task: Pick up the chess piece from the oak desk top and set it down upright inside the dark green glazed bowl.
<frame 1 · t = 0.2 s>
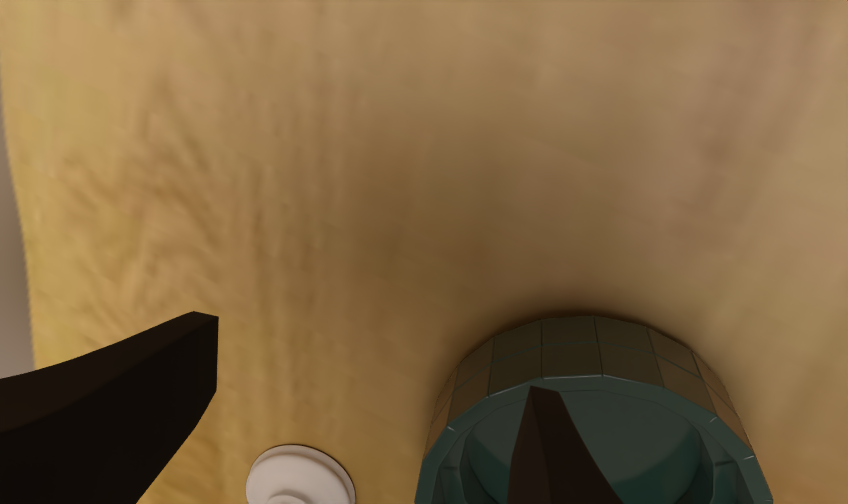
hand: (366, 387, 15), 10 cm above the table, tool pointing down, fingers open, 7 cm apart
bowl: (579, 438, 26), on the table
chess piece: (303, 486, 30), on the table
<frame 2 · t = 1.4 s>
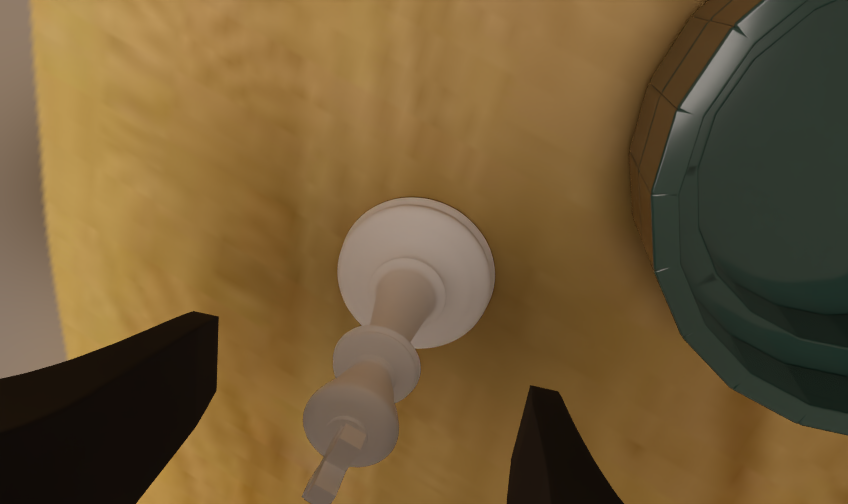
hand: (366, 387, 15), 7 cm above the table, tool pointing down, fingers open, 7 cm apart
chess piece: (417, 269, 21), on the table
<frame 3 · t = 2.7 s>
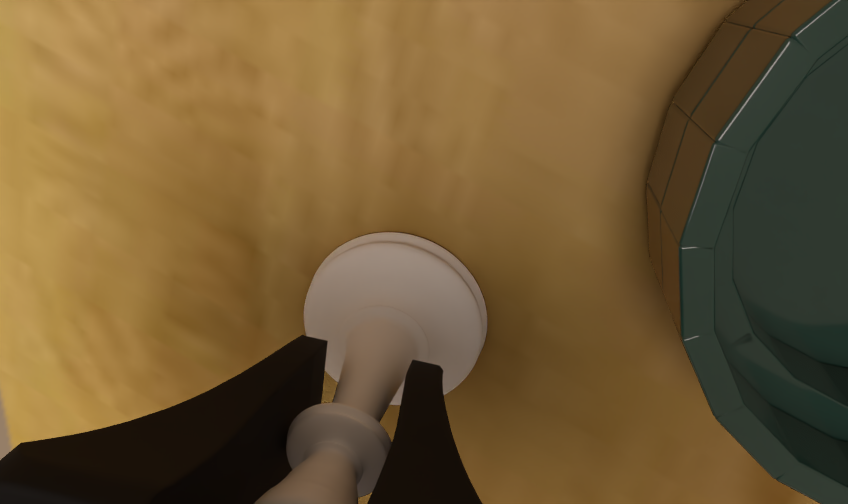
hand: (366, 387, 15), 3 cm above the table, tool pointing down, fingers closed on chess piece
chess piece: (397, 313, 18), on the table, touching gripper
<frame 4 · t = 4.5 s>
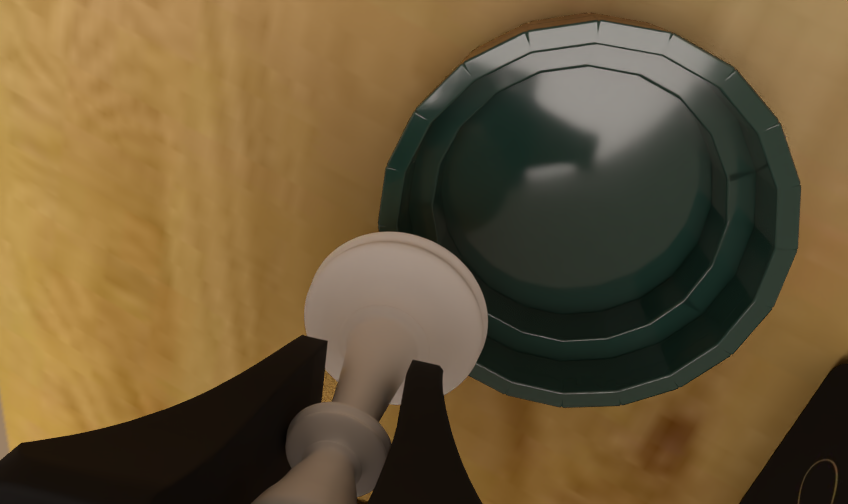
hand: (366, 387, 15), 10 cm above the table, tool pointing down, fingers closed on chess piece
bowl: (571, 190, 23), on the table
chess piece: (398, 312, 18), point 7 cm above the table, touching gripper
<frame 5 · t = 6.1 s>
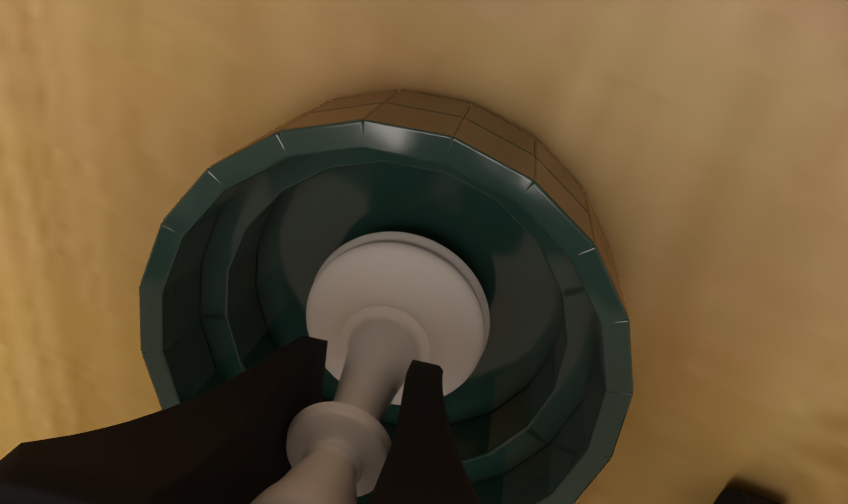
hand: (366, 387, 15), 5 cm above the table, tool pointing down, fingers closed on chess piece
bowl: (408, 288, 20), on the table
chess piece: (400, 312, 18), point 2 cm above the table, touching gripper
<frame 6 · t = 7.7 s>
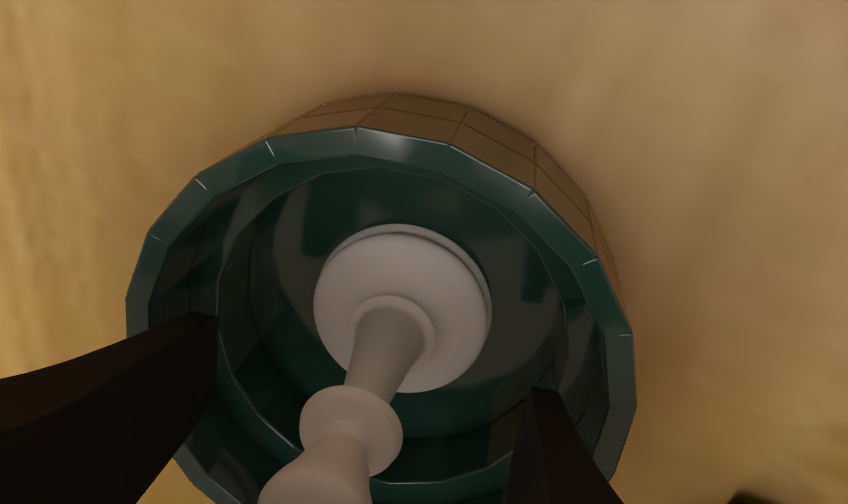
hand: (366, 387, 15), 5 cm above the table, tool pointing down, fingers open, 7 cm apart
bowl: (404, 297, 19), on the table
chess piece: (404, 303, 19), resting on bowl
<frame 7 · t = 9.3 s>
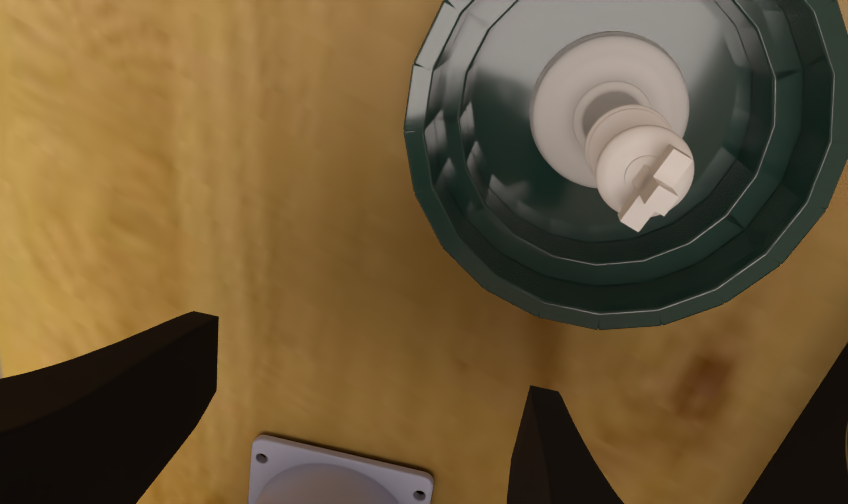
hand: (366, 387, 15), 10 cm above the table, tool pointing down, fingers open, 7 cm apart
bowl: (602, 109, 22), on the table
chess piece: (606, 110, 22), resting on bowl
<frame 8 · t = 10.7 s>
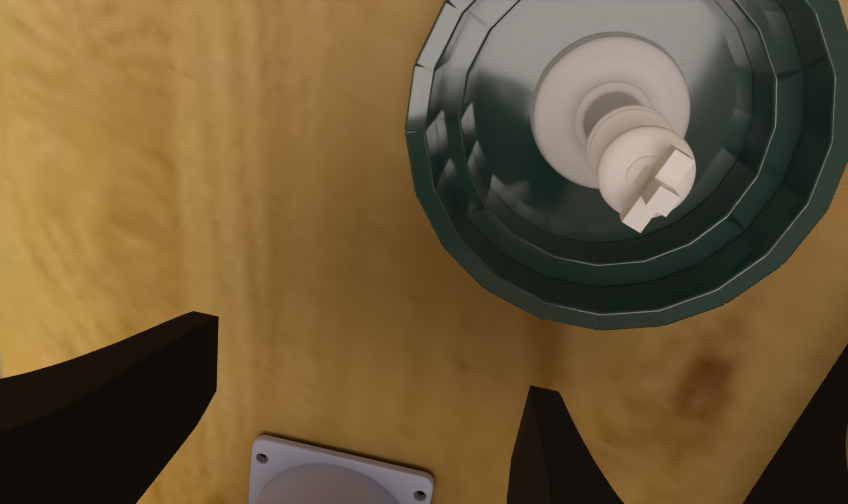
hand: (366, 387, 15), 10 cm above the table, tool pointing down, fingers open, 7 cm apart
bowl: (603, 110, 22), on the table
chess piece: (607, 111, 22), resting on bowl
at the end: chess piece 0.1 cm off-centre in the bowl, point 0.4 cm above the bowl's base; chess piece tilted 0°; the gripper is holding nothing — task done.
